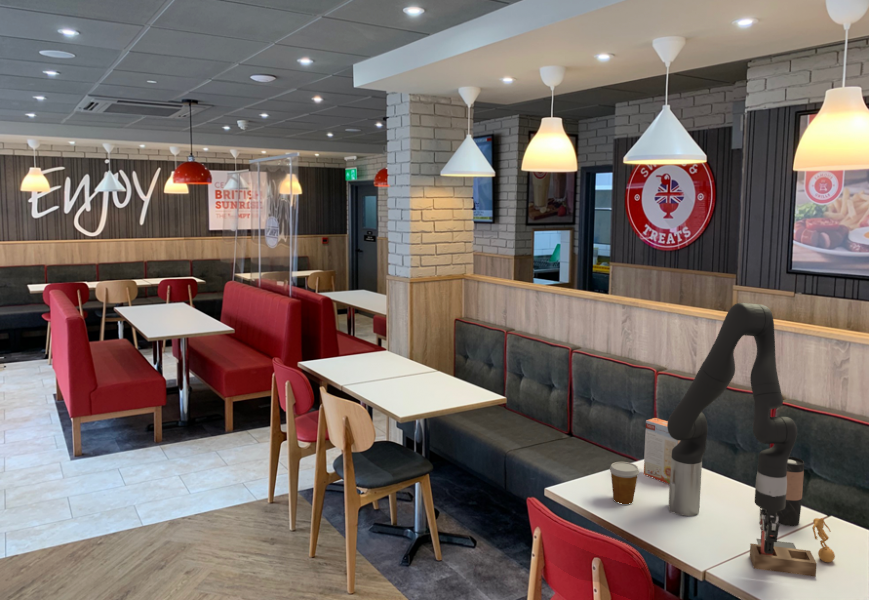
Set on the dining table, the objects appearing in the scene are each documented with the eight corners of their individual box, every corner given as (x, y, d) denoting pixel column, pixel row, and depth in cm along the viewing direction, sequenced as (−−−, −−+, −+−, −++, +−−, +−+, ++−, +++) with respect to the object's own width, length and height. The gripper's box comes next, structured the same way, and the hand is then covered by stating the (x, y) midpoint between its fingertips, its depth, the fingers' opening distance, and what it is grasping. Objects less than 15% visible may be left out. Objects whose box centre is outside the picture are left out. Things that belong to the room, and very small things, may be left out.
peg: (760, 566, 187) (763, 533, 185) (758, 560, 190) (761, 528, 188) (772, 568, 186) (775, 535, 185) (770, 562, 189) (773, 530, 188)
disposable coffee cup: (626, 493, 235) (627, 459, 233) (644, 504, 226) (645, 469, 224) (602, 497, 231) (603, 463, 230) (619, 508, 222) (621, 473, 221)
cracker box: (686, 483, 243) (689, 426, 240) (675, 487, 239) (678, 429, 236) (653, 471, 254) (656, 416, 251) (642, 474, 251) (645, 419, 248)
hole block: (753, 569, 185) (754, 555, 185) (749, 556, 192) (750, 543, 192) (815, 577, 181) (816, 563, 181) (809, 564, 188) (810, 550, 187)
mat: (760, 552, 194) (761, 551, 194) (756, 539, 202) (756, 538, 202) (799, 557, 192) (800, 556, 192) (793, 543, 199) (793, 542, 199)
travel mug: (803, 528, 209) (808, 465, 206) (776, 526, 210) (780, 463, 208) (795, 517, 216) (800, 456, 214) (769, 515, 218) (773, 454, 215)
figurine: (826, 569, 185) (829, 527, 184) (803, 560, 190) (806, 519, 189) (840, 559, 190) (843, 519, 189) (817, 551, 195) (821, 511, 194)
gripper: (751, 477, 193) (747, 534, 195) (760, 498, 179) (756, 559, 181) (780, 480, 191) (776, 538, 193) (792, 501, 177) (787, 563, 179)
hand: (766, 548), depth 187 cm, fingers open, 4 cm apart
